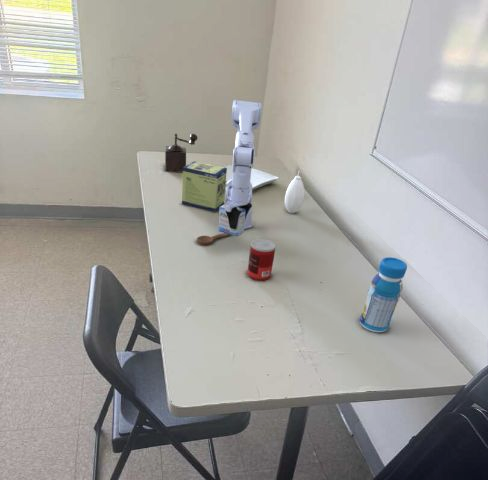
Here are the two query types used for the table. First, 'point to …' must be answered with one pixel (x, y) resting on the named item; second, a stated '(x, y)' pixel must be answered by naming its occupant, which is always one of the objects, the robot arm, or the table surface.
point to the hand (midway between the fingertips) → (236, 225)
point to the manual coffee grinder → (177, 155)
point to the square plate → (253, 177)
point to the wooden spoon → (210, 239)
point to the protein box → (204, 186)
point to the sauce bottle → (294, 195)
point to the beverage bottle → (383, 295)
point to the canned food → (261, 259)
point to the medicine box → (224, 222)
